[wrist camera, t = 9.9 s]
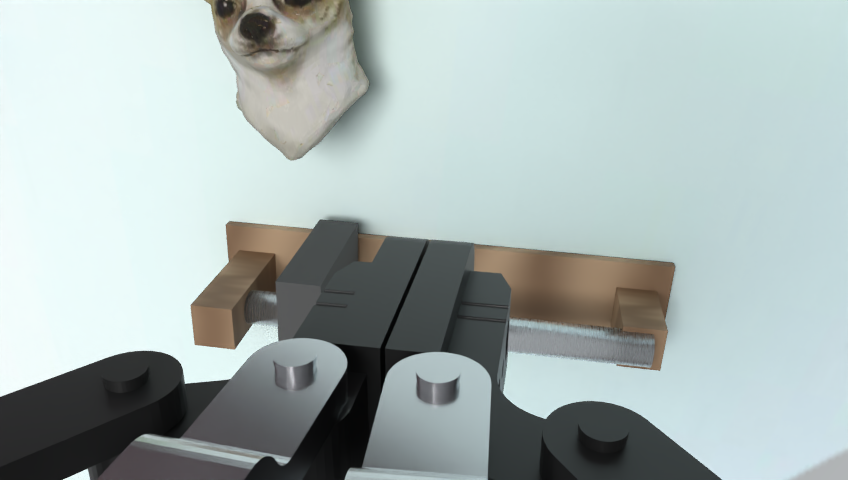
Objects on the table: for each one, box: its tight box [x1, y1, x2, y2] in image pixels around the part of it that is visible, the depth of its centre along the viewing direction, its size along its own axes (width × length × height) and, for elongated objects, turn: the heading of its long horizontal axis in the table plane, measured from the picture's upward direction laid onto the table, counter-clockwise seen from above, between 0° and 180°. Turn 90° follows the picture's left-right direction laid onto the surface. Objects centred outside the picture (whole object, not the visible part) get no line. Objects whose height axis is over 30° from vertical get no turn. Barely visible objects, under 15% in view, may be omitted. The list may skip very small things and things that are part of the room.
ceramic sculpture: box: [205, 0, 369, 160], centre depth 39 cm, size 11×9×15 cm
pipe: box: [244, 290, 655, 368], centre depth 43 cm, size 25×3×3 cm, turn 87°
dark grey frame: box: [275, 220, 358, 341], centre depth 44 cm, size 2×8×8 cm, turn 177°
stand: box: [191, 221, 675, 371], centre depth 45 cm, size 28×6×8 cm, turn 87°
